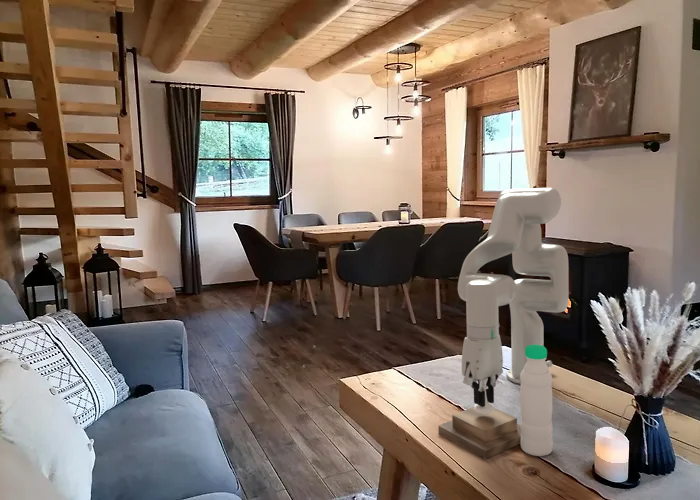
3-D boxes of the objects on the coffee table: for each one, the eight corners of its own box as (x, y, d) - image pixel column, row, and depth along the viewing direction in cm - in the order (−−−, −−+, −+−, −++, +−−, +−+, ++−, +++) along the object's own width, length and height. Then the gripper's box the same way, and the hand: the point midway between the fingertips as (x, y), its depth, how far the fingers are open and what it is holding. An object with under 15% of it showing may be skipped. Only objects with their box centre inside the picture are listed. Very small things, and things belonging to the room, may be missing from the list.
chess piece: (495, 413, 129) (494, 374, 127) (474, 412, 130) (473, 373, 128) (493, 405, 133) (493, 366, 132) (473, 404, 134) (472, 366, 133)
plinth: (483, 415, 143) (483, 397, 143) (532, 438, 130) (532, 418, 129) (438, 432, 135) (438, 414, 134) (485, 459, 121) (485, 438, 121)
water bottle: (559, 454, 122) (559, 349, 119) (532, 460, 120) (532, 353, 117) (539, 440, 129) (539, 340, 125) (514, 445, 127) (513, 344, 123)
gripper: (494, 321, 136) (495, 390, 139) (447, 334, 128) (449, 406, 130) (517, 327, 130) (518, 399, 132) (469, 341, 121) (471, 417, 124)
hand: (483, 402), depth 131 cm, fingers closed on chess piece
